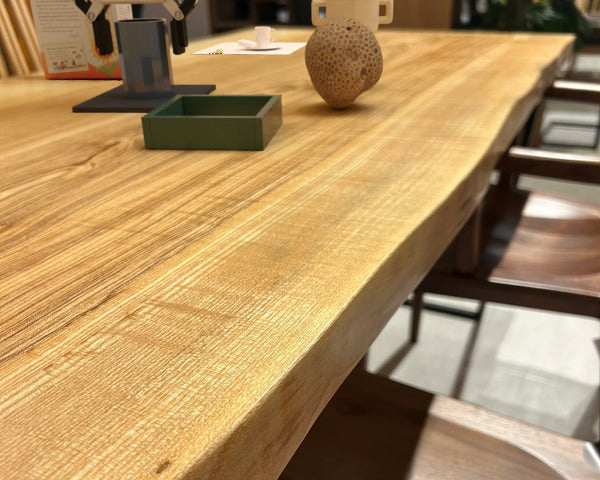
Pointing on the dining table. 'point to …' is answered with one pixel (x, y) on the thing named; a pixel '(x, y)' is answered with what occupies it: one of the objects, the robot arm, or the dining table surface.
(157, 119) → the square tray
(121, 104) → the rubber mat
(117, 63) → the cracker box
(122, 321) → the dining table surface
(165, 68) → the cup
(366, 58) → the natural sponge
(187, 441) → the dining table surface
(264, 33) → the teacup and saucer
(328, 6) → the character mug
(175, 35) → the robot arm
